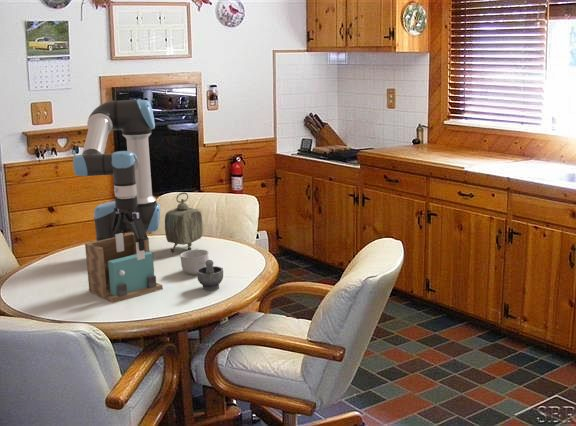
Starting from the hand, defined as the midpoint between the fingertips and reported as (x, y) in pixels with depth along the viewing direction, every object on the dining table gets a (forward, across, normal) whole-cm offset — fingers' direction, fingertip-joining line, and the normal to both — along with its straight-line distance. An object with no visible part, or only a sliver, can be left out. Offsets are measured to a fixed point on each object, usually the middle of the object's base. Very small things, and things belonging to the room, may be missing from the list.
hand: (130, 255), depth 266 cm
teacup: (+15, -4, +31) cm, 34 cm away
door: (+13, 0, 0) cm, 13 cm away
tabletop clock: (+15, -32, +46) cm, 58 cm away
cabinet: (+14, -5, 0) cm, 15 cm away
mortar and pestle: (+14, +17, +22) cm, 31 cm away
